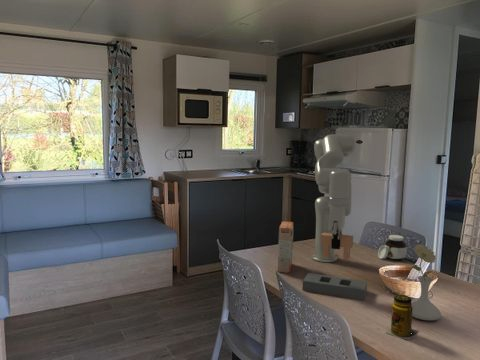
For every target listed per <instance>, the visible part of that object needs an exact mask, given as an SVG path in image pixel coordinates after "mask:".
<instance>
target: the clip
mask: <svg viewBox="0 0 480 360" xmlns="http://www.w3.org/2000/svg"><path fill="white" fill-rule="evenodd" d="M339 239H340V248H343V252H342V253H343V255H342V257H343V258H342V259H343V261H349V260H350V258H351V249H352V248H353V247H354V235H348V234H342V235H340V238H339ZM321 245H323V257H326V258H328V257H329V255H330V246H332V234H331V233H322V234H321Z"/></svg>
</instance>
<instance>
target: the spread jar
mask: <svg viewBox="0 0 480 360" xmlns="http://www.w3.org/2000/svg"><path fill="white" fill-rule="evenodd" d="M404 238H405V237H404V236H402V235H399V234H389V235H388V239H387V240H386V241H385V244H384V245H380V247H379V248H378V250H377V257H378V258H379V259H380V260H384V259H387V260H389V261H393V262H394V261H395V262H401V261H404V259H406V257H407V253H408V252H407V249H408V248H407V243H406V242H405V240H404Z"/></svg>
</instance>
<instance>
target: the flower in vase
mask: <svg viewBox="0 0 480 360" xmlns="http://www.w3.org/2000/svg"><path fill="white" fill-rule="evenodd" d="M413 251H414V252H415V254H416V255H417V257H418V258H420V262H419V266H418V265H416V264H414V265H412V267H411V268H412V269H414V270H416V271H417V272H421V274H422V275H420V276H417V279H418V281H419V283H420V297H419V298H418V299H416V300H414V301H412V302H411V303H412V305H411V306H412V308H413V310H412V318H415V319H418V320H423V321H436V320H439V319H440V318H441V317H442V313H441V311H440V309H439V308H438V307H437V306H436V305H435V304H434V303H432V302H431V301H430V299H429V289H430V286H431V283H432V282H433V281H434V278H432V277H431V276H427V275H429V274H431V273H432V272H433V270H428V271H426V272H424V273H423V270H422V267H421V266H422V262H423V261H424V262H425V263H427V264H433V263H436V260H437V259H436V255H435V252H434V251H433V250H432V249H430V248H429V247H428V246H427V245H426V246H424V244H416V245H414V249H413ZM425 275H426V276H425Z"/></svg>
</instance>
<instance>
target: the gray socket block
mask: <svg viewBox="0 0 480 360" xmlns="http://www.w3.org/2000/svg"><path fill="white" fill-rule="evenodd" d="M302 291H305V292H312V293H317V294H323V295H330V296H331V295H332V296H337V297H343V298H347V299H349V298H350V299H354V300H359V301H361V300H362V301H365V299H366V295H367V292H368V281H367V280H361V279H353V278H347V277H346V278H345V277H339V276H333V275H327V274H326V275H325V274H321V273H320V274H318V273H311V272H308V273H307V274H306V276H305V277H304V278H303V280H302Z"/></svg>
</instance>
